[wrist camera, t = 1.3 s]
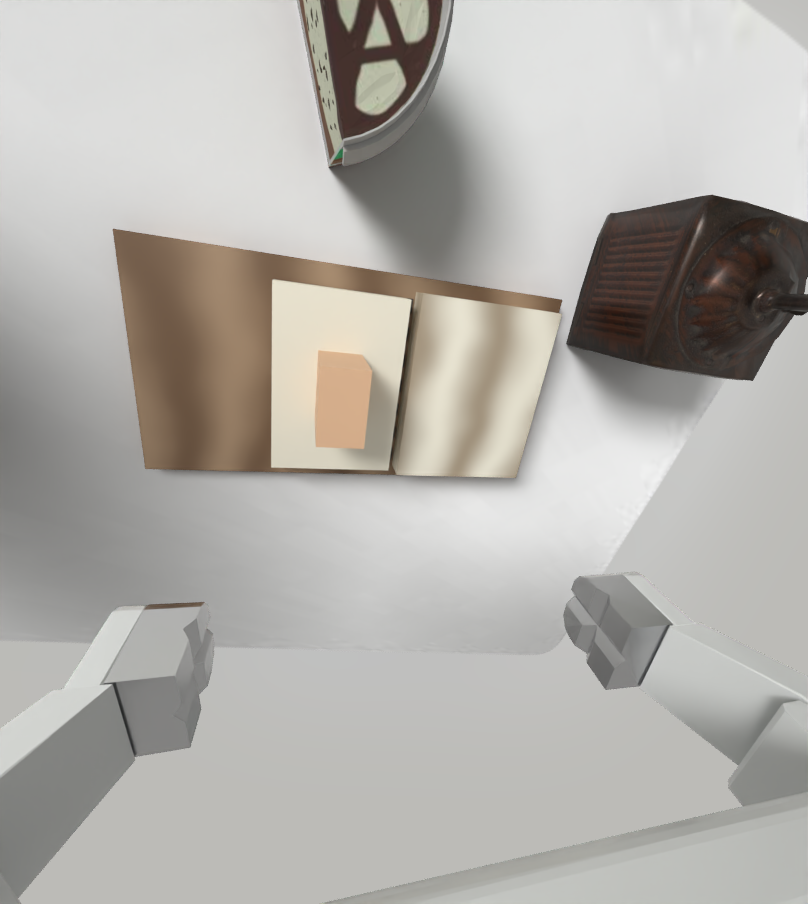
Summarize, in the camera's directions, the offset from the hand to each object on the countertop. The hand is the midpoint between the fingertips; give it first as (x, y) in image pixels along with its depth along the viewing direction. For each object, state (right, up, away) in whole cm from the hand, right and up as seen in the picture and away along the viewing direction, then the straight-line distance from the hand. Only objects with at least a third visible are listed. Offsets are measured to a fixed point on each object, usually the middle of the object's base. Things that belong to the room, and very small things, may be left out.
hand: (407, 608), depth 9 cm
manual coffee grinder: (+20, +20, +24) cm, 37 cm away
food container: (-3, +27, +15) cm, 31 cm away
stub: (-5, +9, +21) cm, 23 cm away
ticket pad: (-4, +9, +23) cm, 25 cm away
